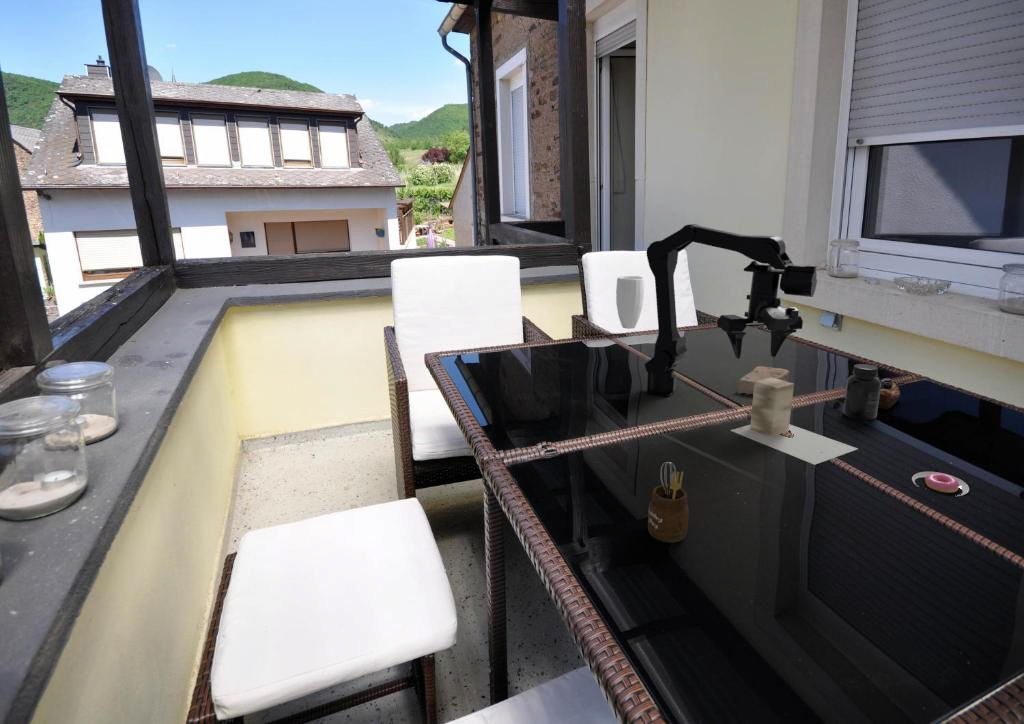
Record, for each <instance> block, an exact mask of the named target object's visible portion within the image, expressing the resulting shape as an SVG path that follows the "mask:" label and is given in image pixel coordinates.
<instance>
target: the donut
mask: <svg viewBox="0 0 1024 724" xmlns="http://www.w3.org/2000/svg"><path fill="white" fill-rule="evenodd" d="M919 478H925V479H924V482H925V484H926V486H927V487H928V488H930V489H932V490H935V491H937V492H942V493H950V494H951V493H956V492H957V491H958V490H959V488H960V489H961V491H962V493H960V494H961V495H960V494H957V496H956V497H962V496H964V495H966V494H968V493H969V491H970V487H969V485H968V484H967V483H966V482H965V481H963V480H962V479H960V478H958V477H956V476H953V475H952V474H951V475H950V474H947V473H943V472H938V471H937V472H936V471H920V472H917V473H915V474H914V475H913V476H912V477H911V482H913V484H914V485H915V486H917V487H919V488H920V486H919V485H917V483H916V482H915V481H916V479H919Z"/></svg>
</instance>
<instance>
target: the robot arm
mask: <svg viewBox="0 0 1024 724" xmlns="http://www.w3.org/2000/svg"><path fill="white" fill-rule="evenodd" d="M692 243H697V244H699V245H700V244H701V245H706V246H709V247H714V248H715V247H716V248H720V249H723V250H728V251H733V252H737V253H739V254H741V255H743V256H744V257H746V258H748V259H750V260H752V261H750V263H749V264H748V265H747V266H745V267H744V268H743V271H744V272H750V273H752V279H751V284H750V285H751V286H750V294H746V300H748V301H749V302H748V307H747V308H748V311H744V317H746V318H744V317H742V316H740V315H737V314H721V315H720V316H719V318H718V319H717V322H716V323H717V324H716V327H718V328H720V329H721V330H722V331H724V332H725V333H726V335H727V337H728V339H729V342H730V343H731V344H730V345H731V348H732V350H733V353H734V356H735V358H736V359H738V360H739V359H740V358H741V355H742V349H743V348H742V347H743V338H744V337H745V336H746V334H747V332H746V331H745V329H746V328H747V327H761V326H762V327H766V329H767V330H768V331H770V356H771V357H772V358H775V357H776V356H777V354H778V352H779V351H780V349H781V348H782V346H783V343H784V342H785V340H786V339H787V338H788V337H789V336H790V335H792V334H794V333H796V332H798V331H797V330H802V329H803V324H804V321H803V318H802V316H801V315H799V313H800V312H799V309H798V308H797V307H795V306H794V307H787V308H786V307H784V308H783V307H781V297H778V292H779V289H780V290H781V291H782V292H783V293H784V295H785V296H786V295H789V296H799V297H806V298H807V297H809V298H813V297H814V295H815V292H816V289H817V283H818V279H817V265H814V264H813V265H810V264H809V265H802V264H801V265H800V264H794V263H793V262H792V260H791V258H790V257H789V255H788V254H787V252H786V247H787V246H786V243H785V241H784V240H783V239H782V238H781V237H780V236H777V235H776V236H775V235H745V234H739V233H735V232H729V231H725V230H722V229H715V228H711V227H706V226H701V225H699V224H697V223H691V224H686V225H684V226H683V227H682V228H680V229H678V230H677V231H675V232H674V233H672V234H670V235H669V236H667V237H665V238H663V239H662V240H656V241H653V242H651V243H650V244H649V246H647V249H646V252H645V253H646V258H647V262H648V266H649V269H650V271H651V272H652V275H653V277H654V283H655V285H654V287H655V299H656V311H657V312H656V314H657V325H658V328H657V329H658V333H657V336H656V340H655V344H654V350H653V351H654V353H653V357H651V358H650V359H649V360H648V361H646V362H645V363H644V367H645V370H646V371H645V372H647V381H646V382H647V383H646V387H647V388H646V389H645V391H644V394H649V395H656V396H664V397H670V396H671V395H672V394H673V393H674V392H675V391H676V385H677V384H676V383H677V375H676V374H675V369H674V368H676V367H677V365H678V363H679V362H681V361H682V360H683V359H684V358H685V355H686V354H685V353H687V352H688V349H687V346H686V342H687V341H686V340H687V337H686V336H685V335H684V336H681V334H679V331H678V327H677V326H678V325H677V310H676V309H677V308H676V298H675V297H676V295H675V294H676V293H675V292H676V291H675V277H674V276H675V272H676V268H677V265H678V260H679V259H678V257H679V253H680V252H682V251H683V250H684V249H686V248H687V247H688V246H689V245H691V244H692ZM759 263H761V264H759Z"/></svg>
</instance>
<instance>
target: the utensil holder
mask: <svg viewBox="0 0 1024 724" xmlns="http://www.w3.org/2000/svg"><path fill="white" fill-rule="evenodd" d="M664 465H665V466H664ZM667 465H669V466H670V467H673V466H675V465H674V463H672V462H671V461H666V462H664V463H663V464H662V466H661V468H660V479H663V478H662V477H663V476H664V482H665V484H664V482H663V480H660V481H661V482H660V483H661V485H658V486H656V487H654V488H653V490H652V492H651V499H650V502H649V505H648V514H647V515H648V516H647V531H648V533H649V535H650V536H651V537H653V539H655V540H657V541H660V542H663V543H668V544H669V543H672V544H673V543H678V542H681V541H683V540H684V539H685V538H686V537H687V533H688V527H689V512H690V510H689V505H688V493H687V492H686V491H685V490H684V489H683V488H682V484H683V483H682V482H683V479H684V478H683V477H684V471H681V472H680V471H676V467H673V468H674V471H672V469H669V470H670V472H669V473H670V475H669V477H670V480H669V484H668V483H667V480H666V470H662V469H663V466H664V468H667ZM662 471H664V475H663V474H662ZM662 475H663V476H662Z"/></svg>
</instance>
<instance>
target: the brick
mask: <svg viewBox="0 0 1024 724" xmlns="http://www.w3.org/2000/svg"><path fill="white" fill-rule="evenodd" d="M789 375H790V371H789V370H788V369H784V368H779V367H769V366H761V365H758V366H756V367H755V368H754V369H753V370H751V372H749V373H747V374H745V375H743V377H741V378H740V379H739V382H738V389H737V393H738V392H739V393H746V394H745V395H749V394H753V393H754V383H755V381H758V380H762V379H767V378H771V377H772V378H776V379H779V380H783V381H786V382H789Z"/></svg>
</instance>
